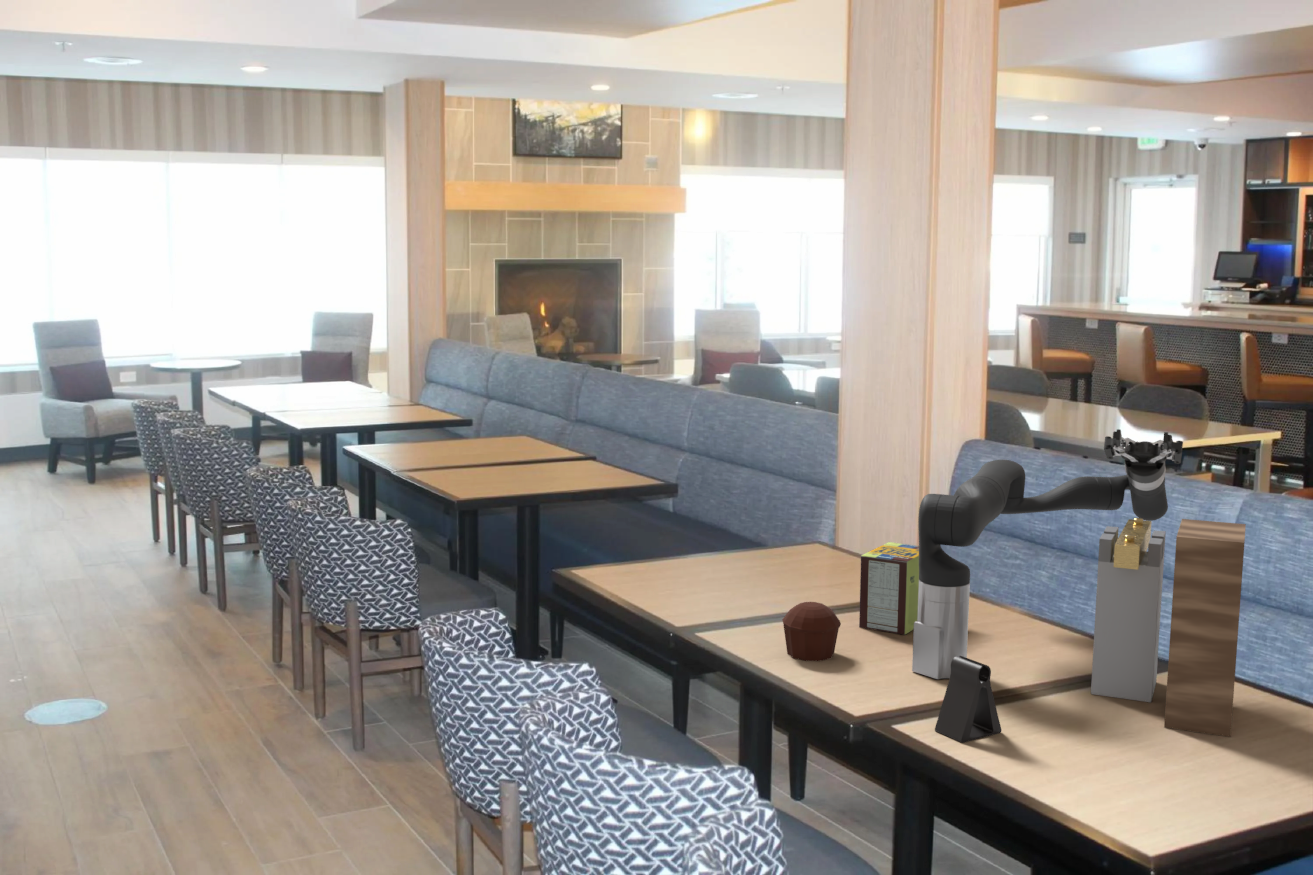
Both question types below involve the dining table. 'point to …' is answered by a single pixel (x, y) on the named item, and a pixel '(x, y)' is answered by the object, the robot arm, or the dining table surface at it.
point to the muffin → (811, 631)
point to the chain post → (1127, 621)
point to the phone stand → (968, 703)
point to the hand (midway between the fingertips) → (1141, 435)
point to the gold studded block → (1132, 544)
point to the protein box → (889, 588)
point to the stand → (1204, 626)
